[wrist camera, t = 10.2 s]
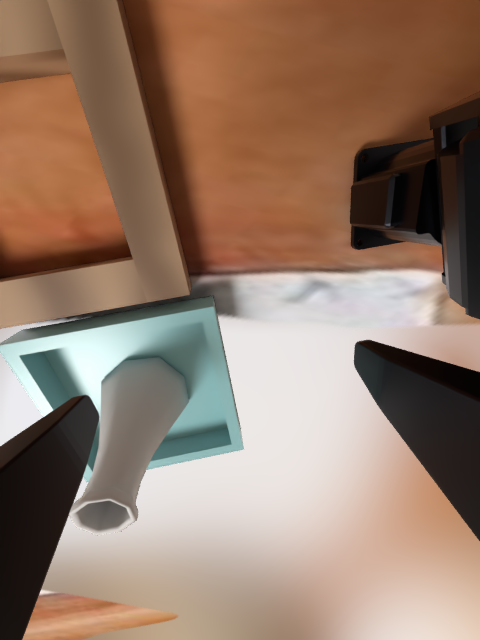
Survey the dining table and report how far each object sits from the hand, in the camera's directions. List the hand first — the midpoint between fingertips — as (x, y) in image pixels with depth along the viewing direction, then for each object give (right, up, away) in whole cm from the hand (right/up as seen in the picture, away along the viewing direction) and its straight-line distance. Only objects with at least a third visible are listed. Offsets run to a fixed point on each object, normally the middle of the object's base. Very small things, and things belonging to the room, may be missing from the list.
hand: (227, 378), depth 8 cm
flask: (-8, -4, +14) cm, 16 cm away
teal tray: (-8, -4, +14) cm, 17 cm away
